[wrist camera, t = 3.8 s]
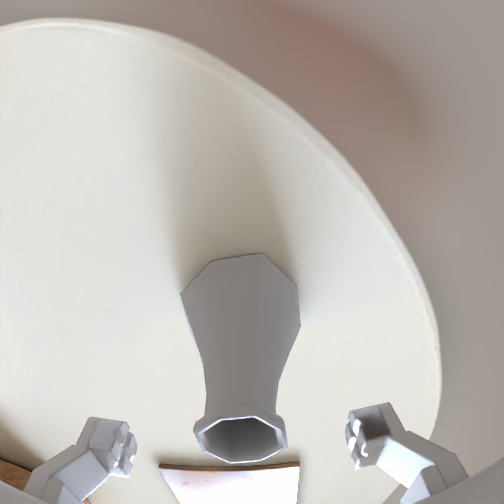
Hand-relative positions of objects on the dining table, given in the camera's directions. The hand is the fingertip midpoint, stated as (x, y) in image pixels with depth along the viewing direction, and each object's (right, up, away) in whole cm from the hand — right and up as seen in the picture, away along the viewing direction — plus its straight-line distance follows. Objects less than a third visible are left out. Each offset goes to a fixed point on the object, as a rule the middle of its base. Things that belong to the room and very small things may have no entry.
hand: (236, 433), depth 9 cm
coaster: (-1, -21, +17) cm, 27 cm away
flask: (0, +3, +9) cm, 10 cm away
